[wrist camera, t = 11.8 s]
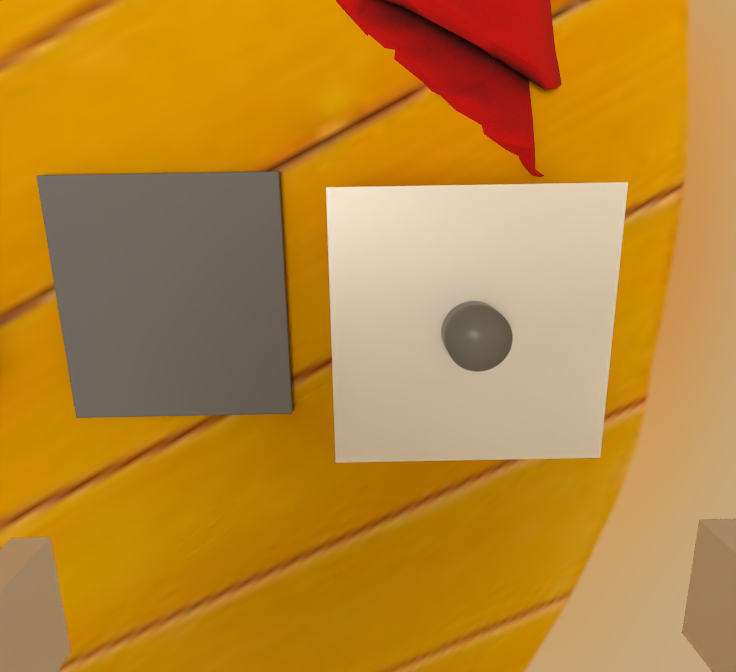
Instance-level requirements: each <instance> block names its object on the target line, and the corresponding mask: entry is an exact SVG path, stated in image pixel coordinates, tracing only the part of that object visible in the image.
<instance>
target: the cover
mask: <svg viewBox="0 0 736 672" xmlns="http://www.w3.org/2000/svg"><path fill="white" fill-rule="evenodd" d="M627 188H628V182H615V183H556V184H496V185H437V186H377V187H326V199H327V228H328V257H329V286H330V315H331V344H332V372H333V401H334V430H335V459H336V463H342V462H396V461H449V460H503V459H557V458H600V455H601V445H602V435H603V426H604V416H605V406H606V396H607V386H608V376H609V366H610V356H611V347H612V337H613V327H614V317H615V307H616V297H617V287H618V277H619V267H620V258H621V248H622V238H623V228H624V218H625V208H626V198H627Z"/></svg>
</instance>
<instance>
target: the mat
mask: <svg viewBox="0 0 736 672" xmlns="http://www.w3.org/2000/svg"><path fill="white" fill-rule="evenodd" d="M37 181H38V187H39V193H40V200H41V206H42V212H43V218H44V224H45V230H46V236H47V242H48V248H49V254H50V260H51V266H52V272H53V279H54V285H55V291H56V297H57V303H58V309H59V315H60V321H61V327H62V333H63V339H64V345H65V352H66V358H67V364H68V370H69V376H70V382H71V388H72V394H73V400H74V406H75V412H76V418H90V417H143V416H197V415H251V414H292V412H293V398H292V380H291V361H290V343H289V325H288V307H287V289H286V271H285V253H284V235H283V217H282V199H281V181H280V172H279V171H274V172H215V173H157V174H98V175H39V176H37Z"/></svg>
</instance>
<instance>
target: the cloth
mask: <svg viewBox="0 0 736 672" xmlns="http://www.w3.org/2000/svg"><path fill="white" fill-rule="evenodd" d="M336 2H337V3H338V4H339V5H340V6H341V7H342V8H343V9H344V11H345V12H346V13H347V14H348V15H349V16H350V17H351V18H352V19H353V20H354V22H355V23H356V24H357V25H358V26H359V27H360V28H361V29H362V30H363V32H364V33H365V34H366V35H367V36H368V34H369V35H370V36H371V37H373V38H374V39H375V40H376V41H377V42H379V43H380V44H381V45H382V46H383V47H384V48H388V49H394V50H395V57H394V59H395V60H396V61H397V62H399V63H400V64H401V65H402V66H404V67H405V68H406V69H407V70H409V71H410V72H411V73H412V74H414V75H415V76H416V77H417V78H419V79H420V80H421V81H422V82H424V83H425V85H426V86H427V87H428V88H429V89H430V90H431V91H432V92H435V93H437V94H440V95H441V96H442V97H443V98H444V99H445V100H446V101H447V102H448V103H449V104H450V105H451V106H452V107H454V108H455V109H456V110H457V111H458V112H460V113H462V114H463V115H465V116H467V117H469V118H470V119H472V120H474V121H476V122H478V123H479V124H481V125H482V127H483V132H484V134H485V135H487V136H488V137H489V138H491V139H492V140H494V141H495V142H496V143H498V144H499V145H500V146H502V147H503V148H505V149H506V150H508V151H510V152H512V153H514V154H516V155H518V156H519V159H520V160H521V162H522V164H523V166H524V167H525V168H526V169H527V170H528V171H529V172H530V173H531V174H532V175H535V176H538V177H542V176H544V175H542V174H541V173H539V172H538V171H537V170H535V146H534V133H533V120H532V109H531V99H530V90H529V80H528V79H530V80H531V81H533V82H534V83H536V84H537V85H539V86H541V87H542V88H544V89H554V88H557V87H559V86H560V85H561V79H560V73H559V66H558V61H557V57H556V52H555V44H554V35H553V25H552V15H551V5H550V0H336ZM469 41H470V42H469ZM471 42H472V43H473V44H472V43H471ZM474 44H475V45H476V46H475V45H474ZM477 46H478V47H477ZM479 47H480V48H481V49H480V48H479ZM482 49H483V50H484V51H483V50H482ZM485 51H486V52H488V53H489V54H491V55H492V56H494V57H492V56H491V55H489V54H488V53H486V52H485ZM495 57H496V58H495Z"/></svg>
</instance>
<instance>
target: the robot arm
mask: <svg viewBox="0 0 736 672" xmlns="http://www.w3.org/2000/svg"><path fill="white" fill-rule="evenodd" d="M691 571H692V572H691V578H690V584H689V590H688V597H687V604H686V610H685V617H684V623H683V630H682V633H683V634H684V636H685V637H686V638H687V640H688V641H689V642H690V644H691V645H692V646H693V647H694V649H695V650H696V651H697V653H698V654H699V655H700V657H701V658H702V659H703V660H704V662H705V663H706V664H707V666H708V667H709V668H710V670H711V671H712V672H736V519H710V520H709V519H708V520H699V525H698V531H697V537H696V544H695V551H694V557H693V564H692V570H691ZM70 652H71V650H70V644H69V639H68V633H67V627H66V622H65V616H64V611H63V605H62V599H61V594H60V588H59V582H58V577H57V571H56V566H55V560H54V554H53V549H52V543H51V538H50V537H39V538H11V539H10V540H9V541H8V542H7V543H6V544H5V545H4V546H3V547H2V548H1V549H0V672H58V671H59V669H60V668H61V666H62V665H63V663H64V662H65V660H66V658H67V657H68V655H69V654H70Z"/></svg>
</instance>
